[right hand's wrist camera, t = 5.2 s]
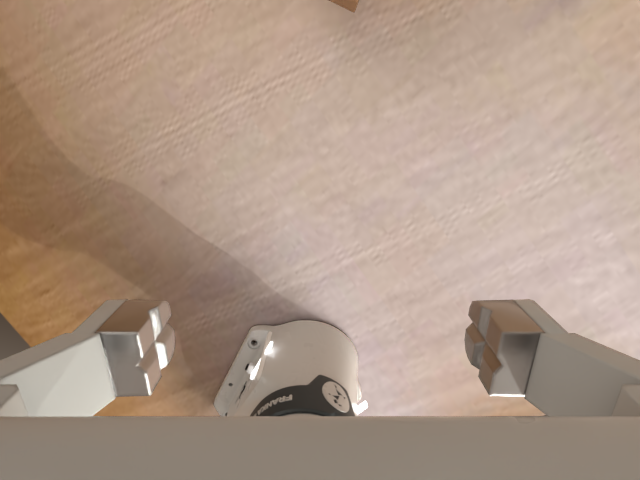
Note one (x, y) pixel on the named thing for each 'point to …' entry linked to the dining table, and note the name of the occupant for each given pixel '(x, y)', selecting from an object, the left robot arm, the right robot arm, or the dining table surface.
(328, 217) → the dining table surface
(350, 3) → the box
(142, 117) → the dining table surface
